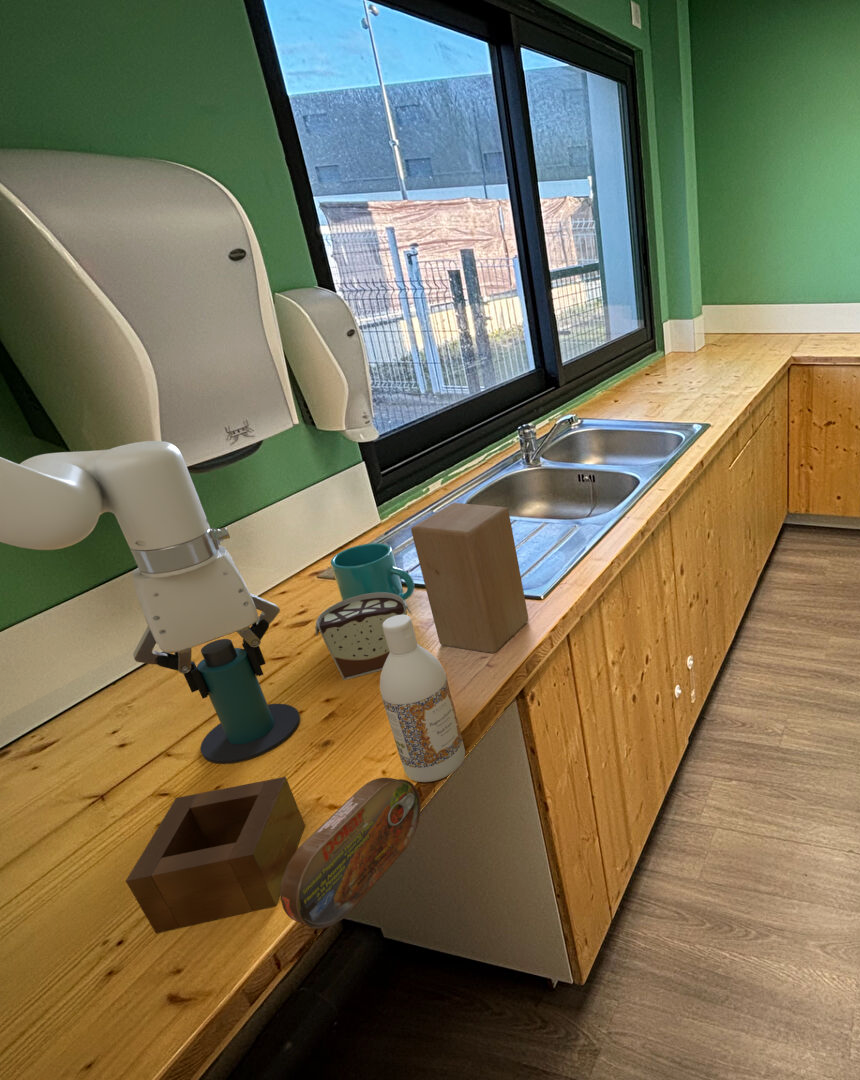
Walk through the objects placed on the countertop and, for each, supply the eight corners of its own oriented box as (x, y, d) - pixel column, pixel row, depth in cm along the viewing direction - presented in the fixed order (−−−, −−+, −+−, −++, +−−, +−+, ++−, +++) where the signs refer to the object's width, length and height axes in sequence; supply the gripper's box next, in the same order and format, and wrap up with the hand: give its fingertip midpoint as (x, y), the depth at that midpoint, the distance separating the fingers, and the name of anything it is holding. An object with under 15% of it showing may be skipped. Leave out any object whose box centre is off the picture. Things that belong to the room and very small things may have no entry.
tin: (317, 950, 63) (288, 884, 59) (291, 940, 64) (261, 875, 60) (430, 823, 76) (412, 763, 72) (406, 816, 76) (388, 757, 73)
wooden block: (438, 645, 107) (408, 527, 99) (477, 613, 116) (453, 501, 108) (494, 654, 104) (468, 533, 96) (530, 620, 113) (509, 506, 105)
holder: (155, 933, 65) (125, 881, 62) (200, 847, 74) (175, 797, 71) (276, 906, 67) (252, 854, 64) (305, 825, 76) (285, 776, 73)
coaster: (186, 772, 84) (184, 768, 84) (221, 715, 94) (220, 712, 94) (286, 753, 87) (284, 750, 86) (310, 700, 96) (309, 697, 96)
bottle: (221, 748, 87) (183, 661, 82) (236, 721, 92) (201, 638, 86) (267, 739, 88) (232, 653, 83) (279, 714, 93) (247, 631, 87)
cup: (407, 630, 112) (390, 568, 107) (337, 629, 113) (318, 567, 108) (433, 601, 120) (419, 542, 115) (368, 601, 121) (351, 542, 117)
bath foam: (433, 792, 80) (390, 644, 71) (392, 773, 83) (347, 629, 74) (478, 754, 85) (444, 612, 77) (438, 737, 88) (401, 599, 80)
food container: (420, 639, 109) (405, 583, 105) (423, 659, 104) (408, 601, 100) (333, 661, 105) (313, 603, 101) (331, 683, 100) (311, 623, 95)
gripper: (253, 519, 87) (297, 642, 95) (77, 567, 76) (142, 701, 84) (269, 535, 82) (314, 664, 90) (83, 589, 71) (152, 729, 79)
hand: (230, 680), depth 87 cm, fingers closed on bottle, 5 cm apart
